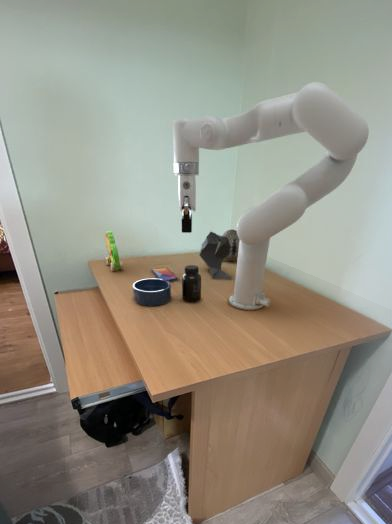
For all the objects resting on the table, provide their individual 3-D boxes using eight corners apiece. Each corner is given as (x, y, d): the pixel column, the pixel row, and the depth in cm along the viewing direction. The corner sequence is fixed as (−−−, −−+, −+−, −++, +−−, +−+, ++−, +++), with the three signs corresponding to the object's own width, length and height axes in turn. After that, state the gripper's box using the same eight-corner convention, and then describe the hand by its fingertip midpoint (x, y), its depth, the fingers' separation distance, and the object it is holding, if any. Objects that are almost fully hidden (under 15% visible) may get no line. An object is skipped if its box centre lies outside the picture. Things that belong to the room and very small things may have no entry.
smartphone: (160, 282, 122) (160, 280, 121) (151, 270, 133) (151, 268, 132) (177, 280, 124) (177, 278, 123) (166, 269, 135) (166, 267, 135)
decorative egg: (215, 257, 153) (217, 227, 145) (237, 257, 155) (239, 227, 147) (221, 264, 144) (223, 232, 136) (243, 263, 146) (247, 232, 138)
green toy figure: (124, 271, 132) (120, 235, 124) (112, 272, 130) (107, 236, 122) (116, 261, 144) (112, 228, 136) (105, 262, 142) (100, 229, 134)
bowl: (178, 299, 108) (178, 284, 105) (150, 310, 99) (149, 295, 96) (154, 289, 115) (153, 275, 112) (126, 299, 107) (125, 284, 104)
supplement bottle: (200, 295, 111) (201, 264, 104) (201, 303, 105) (202, 270, 99) (182, 295, 110) (181, 263, 104) (182, 303, 105) (181, 270, 98)
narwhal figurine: (229, 268, 140) (232, 227, 130) (231, 279, 127) (235, 235, 117) (199, 267, 140) (200, 226, 130) (198, 278, 127) (200, 234, 117)
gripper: (199, 170, 82) (198, 235, 91) (198, 169, 97) (197, 224, 106) (172, 170, 82) (174, 234, 91) (175, 168, 97) (176, 224, 106)
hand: (187, 229), depth 99 cm, fingers open, 9 cm apart
